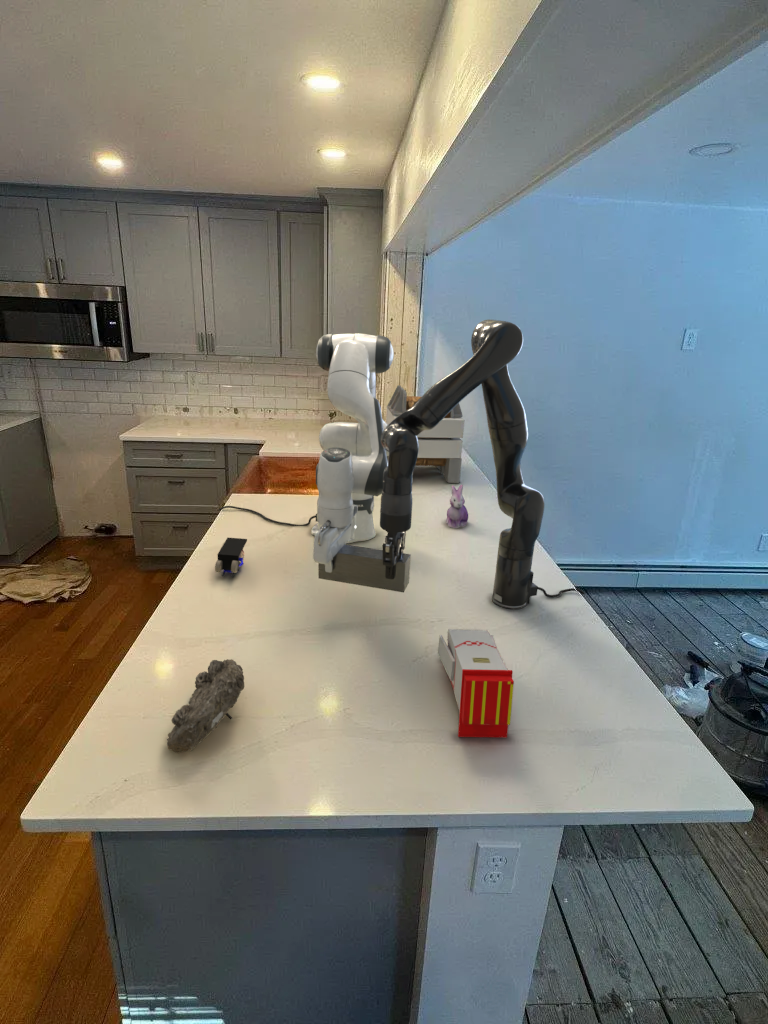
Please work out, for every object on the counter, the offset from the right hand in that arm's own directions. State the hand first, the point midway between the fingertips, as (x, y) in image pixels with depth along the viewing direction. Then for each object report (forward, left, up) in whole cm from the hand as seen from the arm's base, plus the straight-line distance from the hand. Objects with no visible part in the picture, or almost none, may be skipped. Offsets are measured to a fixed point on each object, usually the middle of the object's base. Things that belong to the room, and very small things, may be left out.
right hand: (393, 572), depth 140 cm
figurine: (-48, -57, -13) cm, 76 cm away
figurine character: (+35, -39, -13) cm, 54 cm away
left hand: (+13, -9, -1) cm, 16 cm away
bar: (+6, -4, -3) cm, 8 cm away
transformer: (-62, -124, -13) cm, 140 cm away
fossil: (+46, +24, -13) cm, 53 cm away
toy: (-6, +32, -13) cm, 35 cm away
